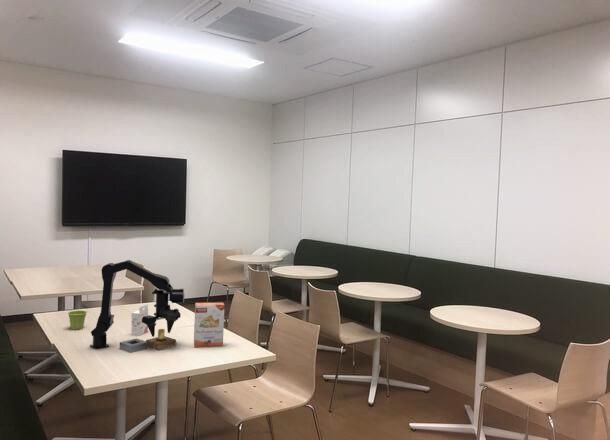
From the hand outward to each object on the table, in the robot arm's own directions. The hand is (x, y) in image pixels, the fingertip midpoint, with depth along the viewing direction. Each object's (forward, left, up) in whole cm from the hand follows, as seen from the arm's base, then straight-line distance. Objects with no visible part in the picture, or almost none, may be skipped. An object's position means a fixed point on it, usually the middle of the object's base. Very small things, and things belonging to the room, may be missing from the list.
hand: (161, 334), depth 228 cm
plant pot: (-57, -11, -6) cm, 58 cm away
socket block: (-6, -11, -6) cm, 14 cm away
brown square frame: (0, 0, -6) cm, 6 cm away
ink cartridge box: (-26, +6, -6) cm, 27 cm away
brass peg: (0, 0, -6) cm, 6 cm away
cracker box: (+16, +16, -6) cm, 23 cm away
